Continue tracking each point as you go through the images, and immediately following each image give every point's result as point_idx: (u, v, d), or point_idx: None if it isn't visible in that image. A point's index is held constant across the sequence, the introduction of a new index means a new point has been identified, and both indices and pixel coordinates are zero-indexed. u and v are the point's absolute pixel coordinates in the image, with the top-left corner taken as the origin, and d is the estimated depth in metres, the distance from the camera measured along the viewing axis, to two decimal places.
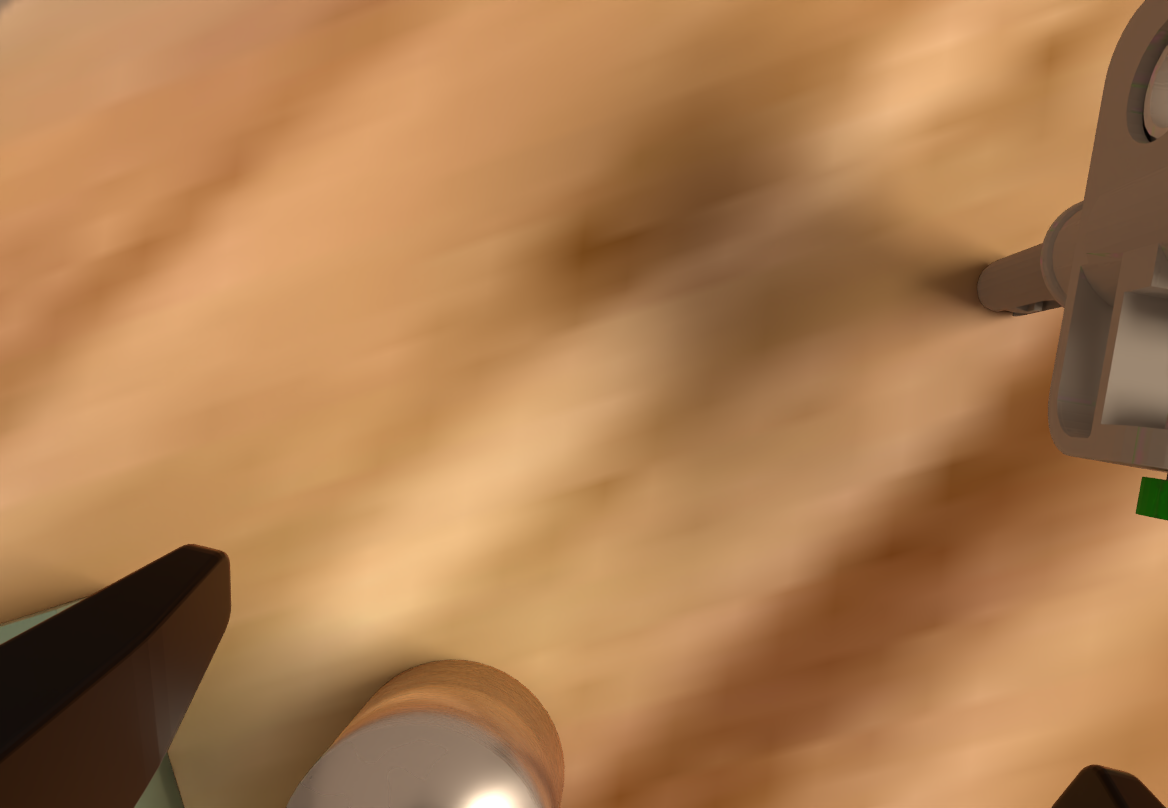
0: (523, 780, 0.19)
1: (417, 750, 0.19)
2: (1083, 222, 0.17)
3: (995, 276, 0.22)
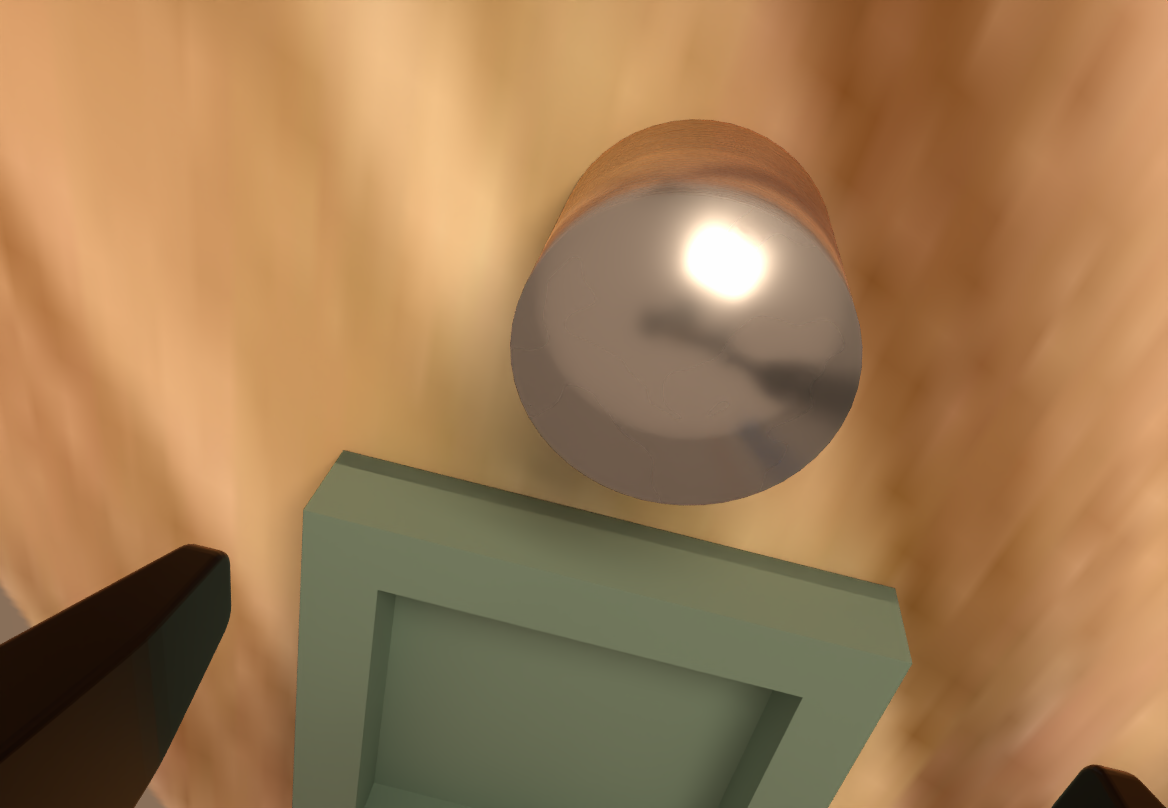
0: (667, 191, 0.14)
1: (559, 288, 0.15)
2: None
3: None
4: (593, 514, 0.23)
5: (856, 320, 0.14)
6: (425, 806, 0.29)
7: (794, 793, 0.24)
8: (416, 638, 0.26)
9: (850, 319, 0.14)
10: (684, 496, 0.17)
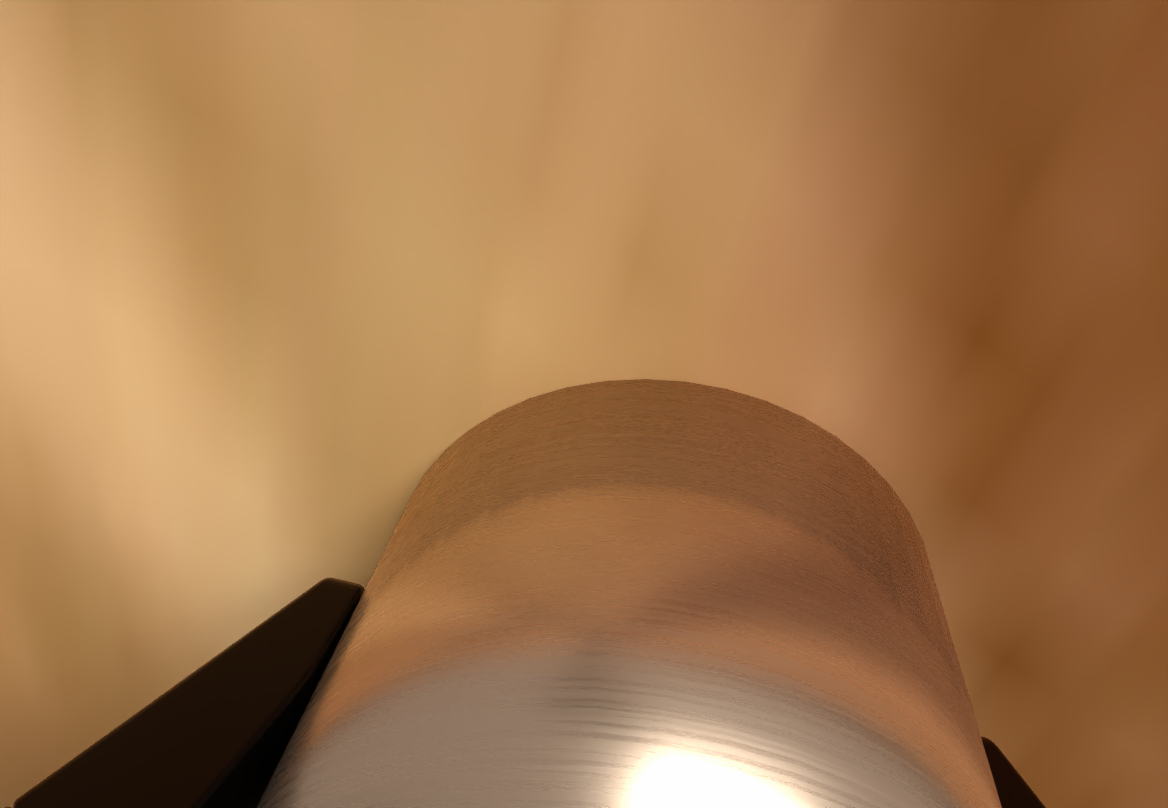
0: None
1: None
2: None
3: None
4: None
5: None
6: None
7: None
8: None
9: None
10: None
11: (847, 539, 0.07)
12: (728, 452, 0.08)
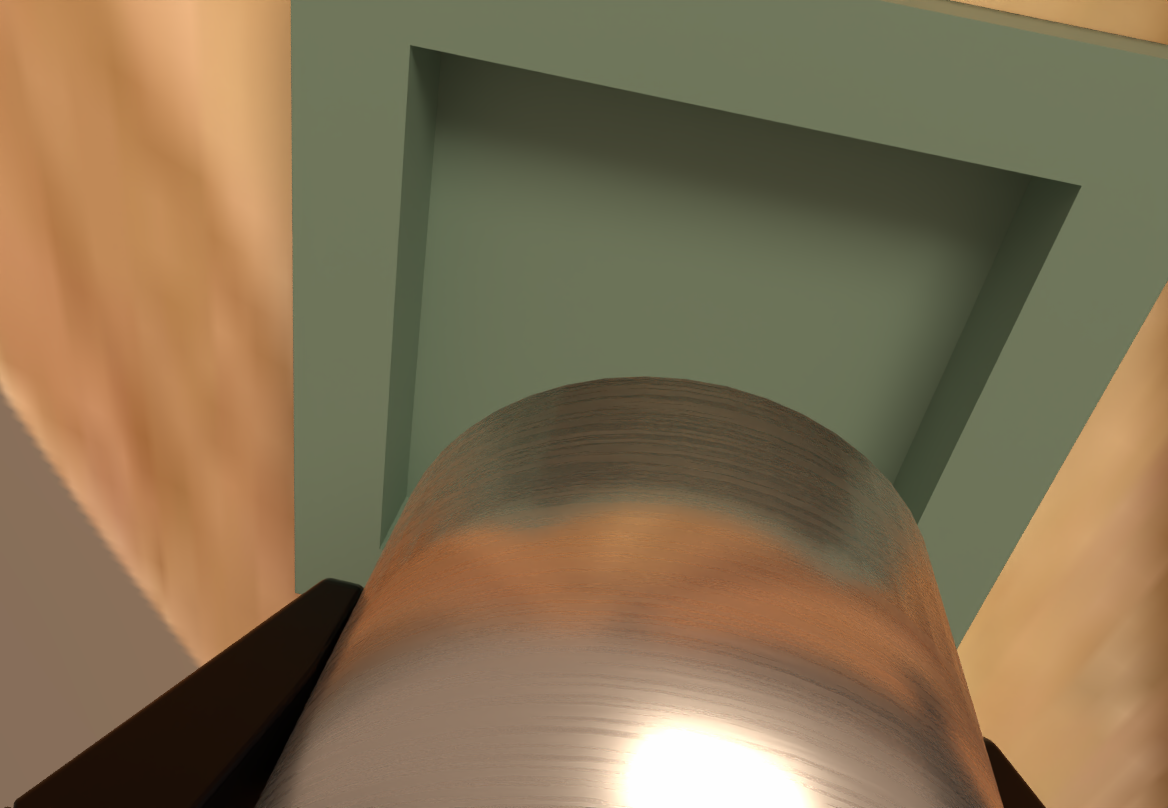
0: None
1: None
2: None
3: None
4: None
5: None
6: None
7: (1042, 391, 0.16)
8: (464, 223, 0.18)
9: None
10: None
11: (848, 536, 0.07)
12: (728, 449, 0.07)
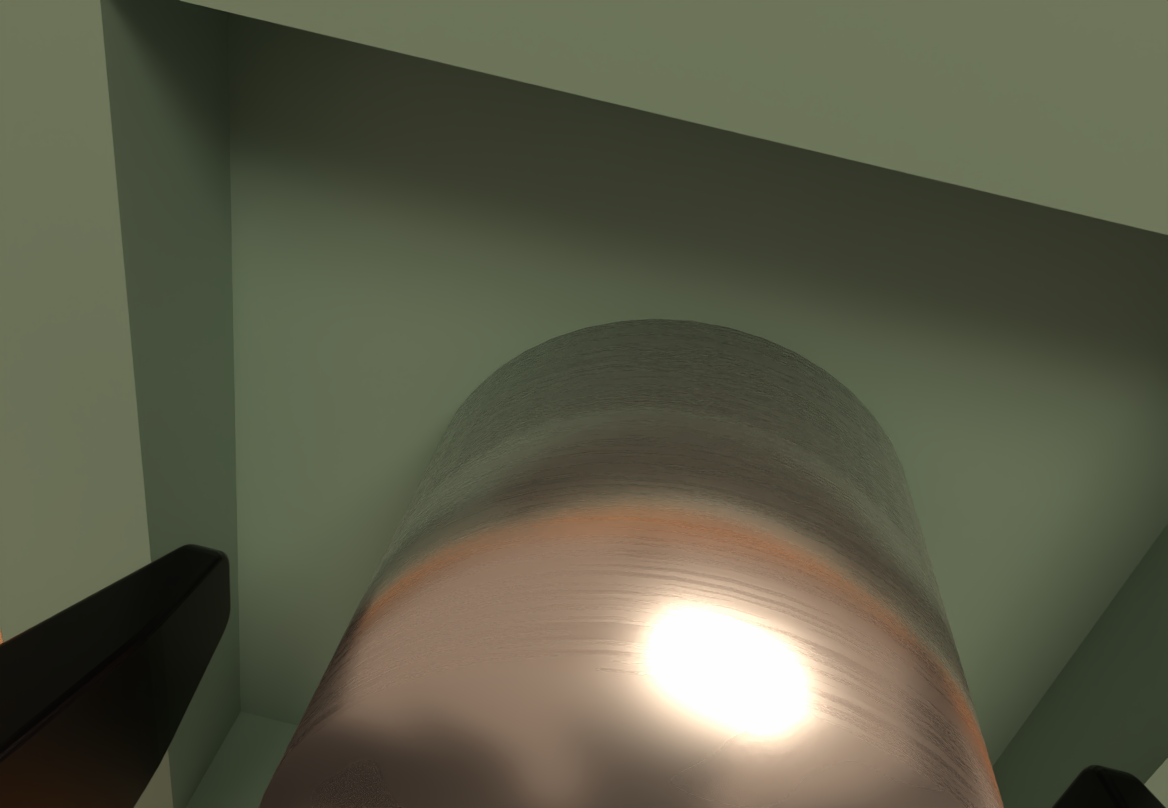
0: (576, 646, 0.06)
1: (340, 807, 0.06)
2: None
3: None
4: None
5: None
6: None
7: None
8: (296, 318, 0.10)
9: None
10: None
11: (832, 447, 0.08)
12: (729, 375, 0.09)
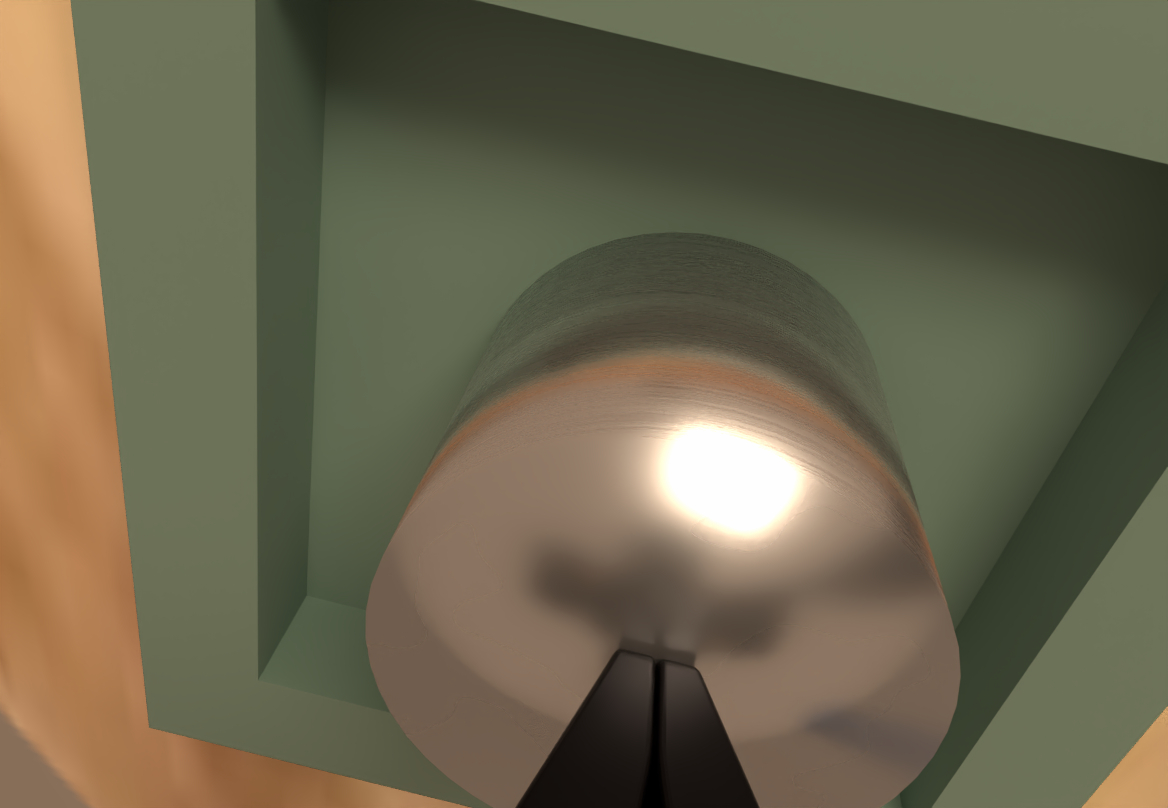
0: (624, 425, 0.08)
1: (440, 567, 0.09)
2: None
3: None
4: None
5: (953, 639, 0.08)
6: None
7: None
8: (373, 235, 0.12)
9: (942, 636, 0.08)
10: None
11: (814, 325, 0.10)
12: (733, 271, 0.11)
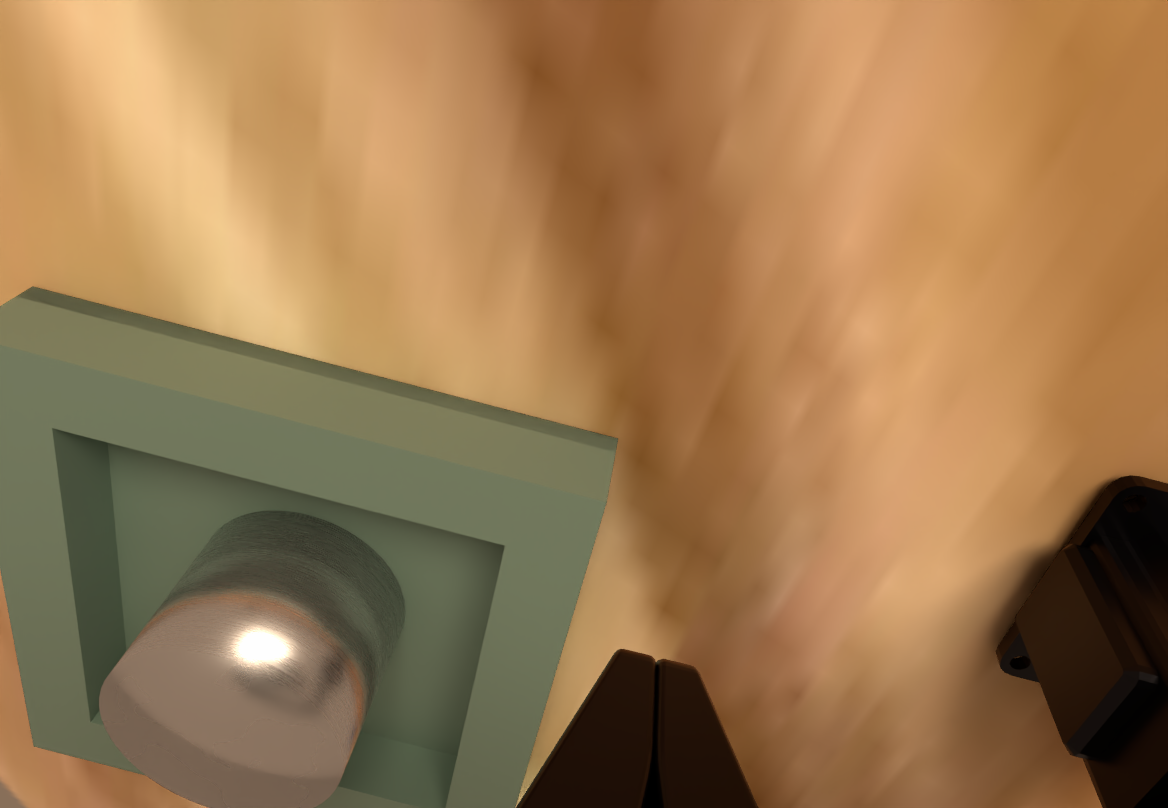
0: (184, 644, 0.20)
1: (125, 691, 0.21)
2: None
3: None
4: (299, 357, 0.22)
5: (328, 725, 0.20)
6: None
7: (519, 659, 0.23)
8: (139, 502, 0.24)
9: (324, 724, 0.20)
10: None
11: (325, 571, 0.23)
12: (294, 541, 0.23)
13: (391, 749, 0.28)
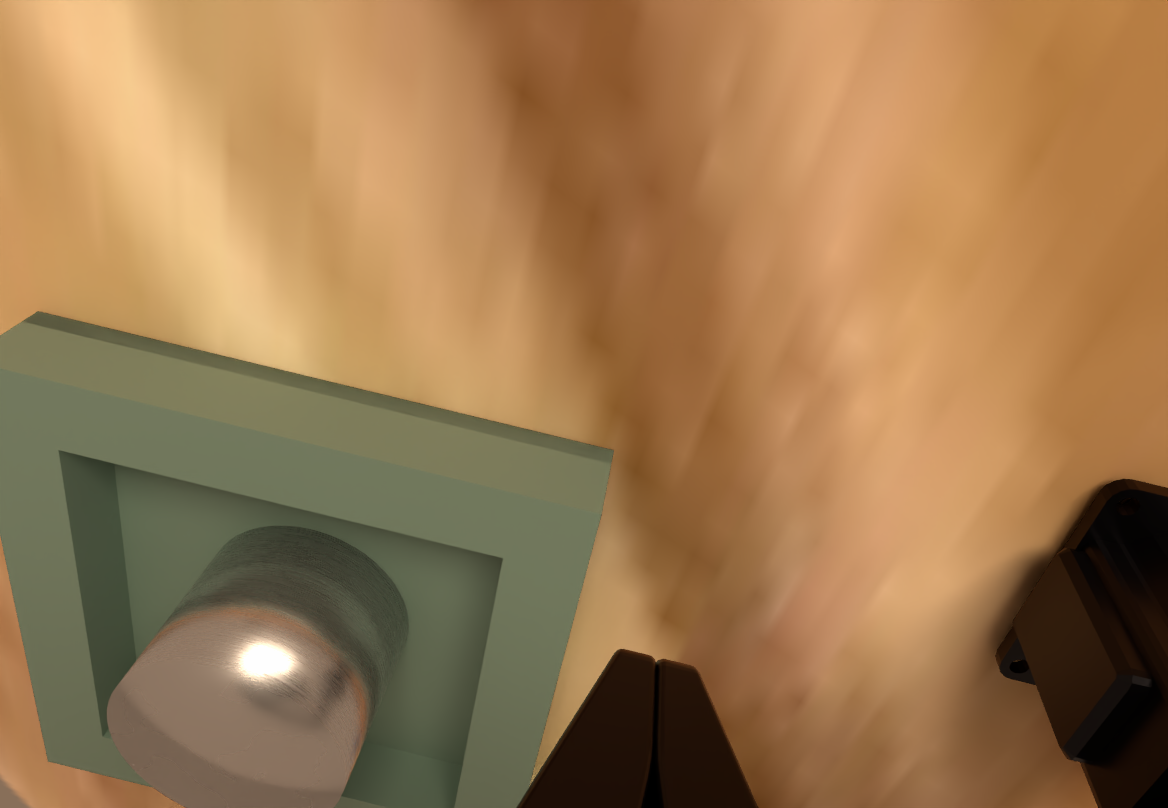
0: (189, 656, 0.20)
1: (132, 704, 0.21)
2: None
3: None
4: (298, 375, 0.22)
5: (330, 737, 0.21)
6: None
7: (520, 670, 0.23)
8: (145, 520, 0.25)
9: (326, 735, 0.21)
10: None
11: (328, 584, 0.23)
12: (298, 555, 0.23)
13: (398, 760, 0.28)
